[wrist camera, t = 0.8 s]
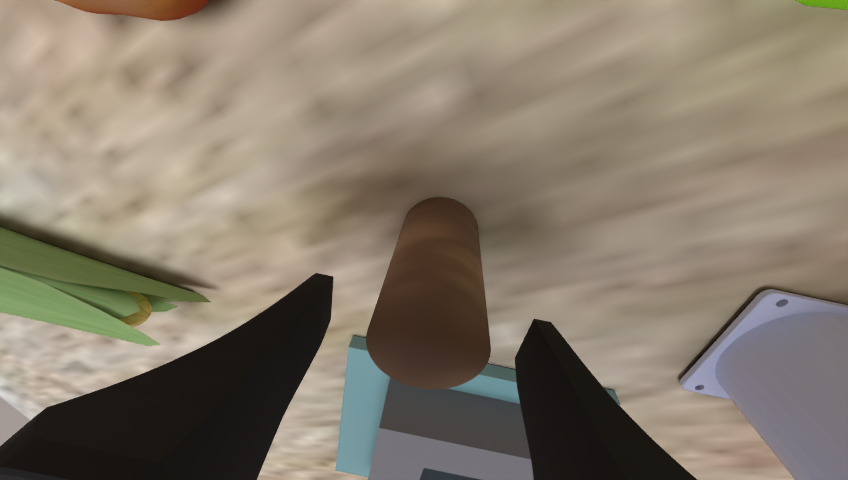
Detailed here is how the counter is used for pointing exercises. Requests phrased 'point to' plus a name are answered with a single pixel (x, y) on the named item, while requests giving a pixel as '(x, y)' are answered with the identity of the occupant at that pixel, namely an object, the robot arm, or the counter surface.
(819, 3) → the wineglass
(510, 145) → the counter surface
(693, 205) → the counter surface
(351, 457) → the socket board
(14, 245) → the edible corn
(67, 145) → the counter surface
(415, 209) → the peg
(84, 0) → the fruit
